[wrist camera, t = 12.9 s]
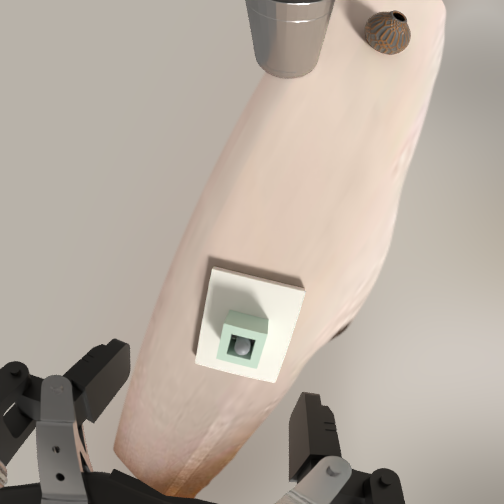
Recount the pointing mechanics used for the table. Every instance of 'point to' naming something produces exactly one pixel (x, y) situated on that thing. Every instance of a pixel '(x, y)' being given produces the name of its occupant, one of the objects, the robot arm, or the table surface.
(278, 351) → the plate
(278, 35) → the robot arm
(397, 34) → the vase
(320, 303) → the table surface
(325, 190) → the table surface
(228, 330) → the collar
